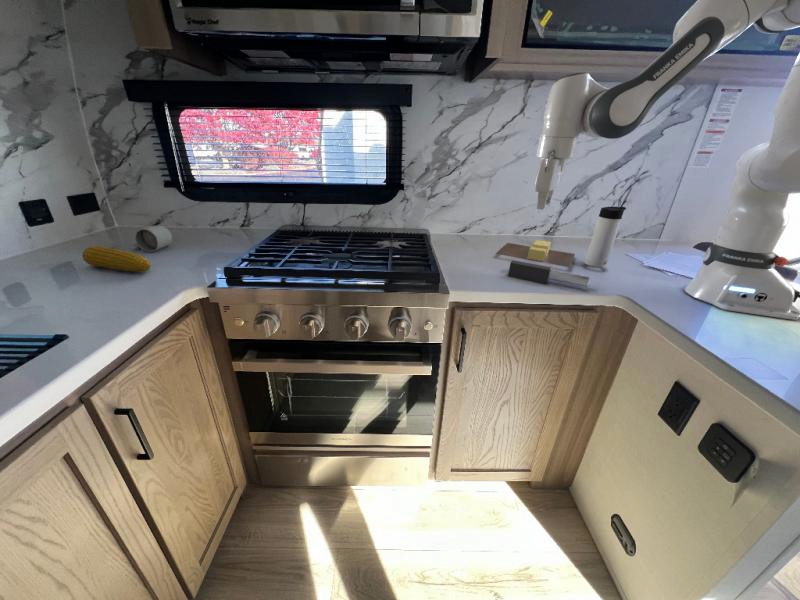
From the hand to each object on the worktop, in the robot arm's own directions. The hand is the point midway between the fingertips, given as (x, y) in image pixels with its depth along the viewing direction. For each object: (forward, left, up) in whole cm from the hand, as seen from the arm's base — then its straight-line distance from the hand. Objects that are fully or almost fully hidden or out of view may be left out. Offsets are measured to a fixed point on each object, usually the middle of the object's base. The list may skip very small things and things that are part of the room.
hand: (543, 206), depth 89 cm
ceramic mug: (+114, +47, -21) cm, 125 cm away
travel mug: (-17, -23, -21) cm, 36 cm away
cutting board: (+2, -23, -21) cm, 31 cm away
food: (+101, +61, -21) cm, 120 cm away
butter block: (+1, -25, -20) cm, 32 cm away
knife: (-5, 0, -21) cm, 22 cm away
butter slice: (+1, -17, -20) cm, 26 cm away
